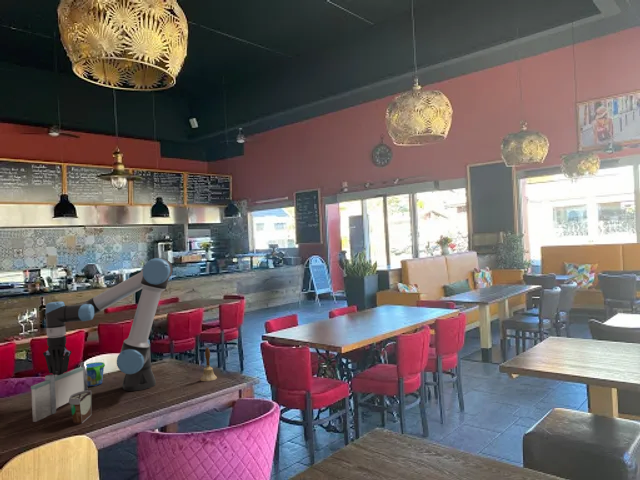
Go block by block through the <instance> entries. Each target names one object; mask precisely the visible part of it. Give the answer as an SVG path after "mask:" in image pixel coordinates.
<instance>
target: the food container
mask: <svg viewBox="0 0 640 480" xmlns="http://www.w3.org/2000/svg"><path fill="white" fill-rule="evenodd" d="M92 395H93V393H92V390H91V389H90V390H87V391H82V392H78V393H75V394H73V395H71V396H70V398H69V402H68V404H70V410H71V417H72V423H73V424H76V425H77V424H83V423H84V422H85V421H87V420H88V419H89V418H90V417H91V416H92Z"/></svg>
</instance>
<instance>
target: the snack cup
mask: <svg viewBox="0 0 640 480" xmlns="http://www.w3.org/2000/svg"><path fill="white" fill-rule="evenodd" d="M86 366H87V386H88V387H96V386H99V385H101V384H103V379H104V378H103V377H104V369H105V366H106V365H105V362H103V361H102V362H100V361H96V362H90V363H89V362H88V363H86Z"/></svg>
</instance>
